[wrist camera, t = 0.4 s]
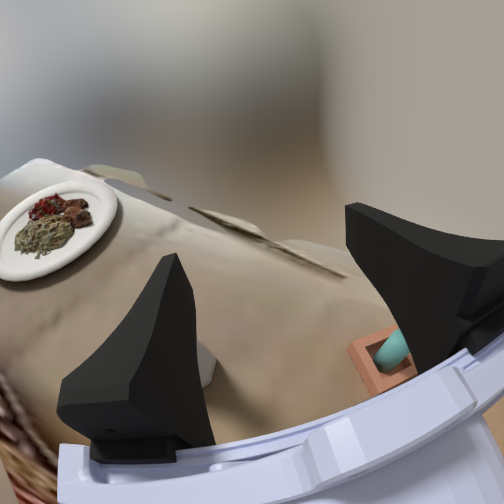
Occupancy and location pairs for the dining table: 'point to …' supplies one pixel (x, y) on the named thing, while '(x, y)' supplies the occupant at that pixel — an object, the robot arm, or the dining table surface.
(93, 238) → the plated food
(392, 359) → the pin
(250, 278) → the dining table surface
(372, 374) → the salmon square dish
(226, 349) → the dining table surface
